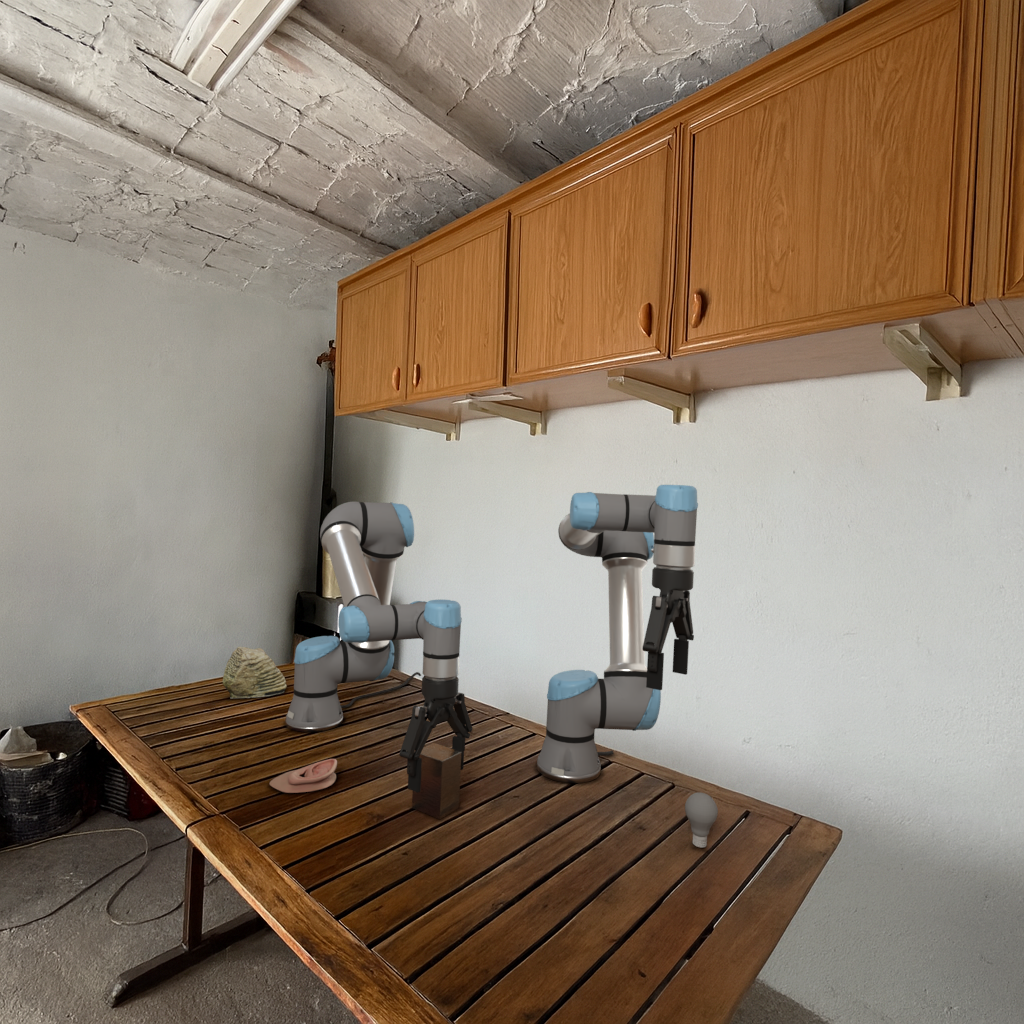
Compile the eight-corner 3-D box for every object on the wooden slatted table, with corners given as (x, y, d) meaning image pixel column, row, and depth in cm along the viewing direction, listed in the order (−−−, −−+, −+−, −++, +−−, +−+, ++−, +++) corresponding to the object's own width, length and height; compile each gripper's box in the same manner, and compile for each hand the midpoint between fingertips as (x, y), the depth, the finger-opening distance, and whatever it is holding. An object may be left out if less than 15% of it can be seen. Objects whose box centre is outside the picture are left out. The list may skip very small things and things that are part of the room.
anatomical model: (261, 770, 135) (291, 750, 147) (261, 789, 136) (290, 767, 147) (318, 779, 133) (344, 757, 144) (318, 797, 133) (343, 775, 144)
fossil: (218, 695, 195) (220, 647, 195) (278, 685, 208) (279, 640, 207) (228, 703, 189) (230, 653, 188) (289, 692, 201) (290, 645, 201)
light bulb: (678, 837, 123) (681, 786, 123) (708, 837, 124) (711, 787, 124) (689, 855, 117) (692, 801, 117) (721, 854, 118) (723, 801, 118)
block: (431, 797, 136) (433, 742, 136) (459, 808, 132) (461, 751, 131) (411, 807, 131) (414, 751, 130) (439, 819, 126) (442, 761, 126)
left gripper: (463, 661, 143) (460, 755, 143) (383, 685, 122) (379, 794, 122) (490, 667, 139) (487, 764, 139) (412, 693, 118) (408, 806, 118)
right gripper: (676, 561, 131) (671, 664, 131) (627, 569, 110) (621, 691, 110) (712, 565, 127) (707, 670, 127) (669, 574, 106) (663, 700, 106)
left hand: (436, 778), depth 131 cm, fingers open, 13 cm apart
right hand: (667, 680), depth 119 cm, fingers open, 13 cm apart
